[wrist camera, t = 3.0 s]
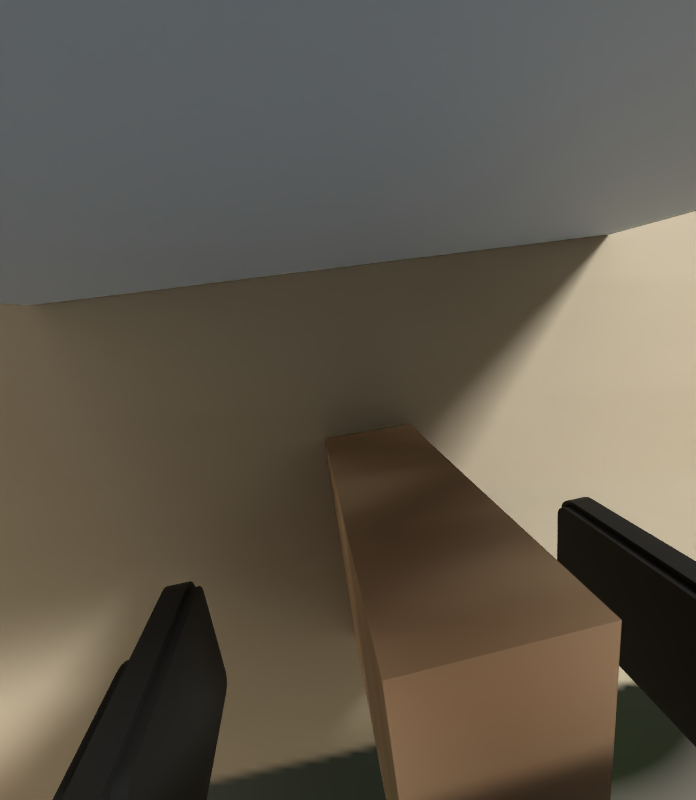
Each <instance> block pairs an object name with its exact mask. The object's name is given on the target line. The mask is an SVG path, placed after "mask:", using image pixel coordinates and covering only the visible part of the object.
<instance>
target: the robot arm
mask: <svg viewBox="0 0 696 800" xmlns="http://www.w3.org/2000/svg"><path fill="white" fill-rule="evenodd" d="M557 561H558V562H559V563H560V564H562V565H563V566H564V567H565V568H566V569H567V570H568V571H569V572H570V573H571V574H572V575H574V576H575V577H576V578H577V579H578V580H579V581H580V582H581V583H582V584H583V585H584V586H585V587H587V588H588V589H589V590H590V591H591V592H592V593H593V594H594V595H595V596H596V597H597V598H598V599H600V600H601V601H602V602H603V603H604V604H605V605H606V606H607V607H608V608H609V609H610V610H611V611H613V612H614V613H615V614H616V615H617V616H618V617H619V618H620V619H621V620H622V625H621V641H620V656H619V666H620V667H621V668H622V669H623V670H624V671H625V672H626V673H627V674H628V675H629V676H630V678H631V679H632V680H633V681H634V682H635V683H636V684H637V685H638V686H639V687H640V688H641V689H642V690H643V691H644V692H645V693H646V694H647V695H648V697H649V698H650V699H651V700H652V701H653V702H654V703H655V704H656V705H657V706H658V707H659V708H660V709H661V710H662V711H663V713H664V714H665V715H666V716H667V717H668V718H669V719H670V720H671V721H672V722H673V723H674V724H675V725H676V726H677V727H678V728H679V729H680V731H681V732H682V733H684V735H685V736H686V737H687V738H688V739H689V740H690V741H691V742H692V743H693V744H694V745H695V746H696V561H694V560H693V559H691V558H689V557H688V556H686V555H684V554H683V553H681V552H679V551H678V550H676V549H674V548H673V547H671V546H669V545H668V544H666V543H664V542H663V541H661V540H659V539H658V538H656V537H654V536H653V535H651V534H649V533H648V532H646V531H644V530H643V529H641V528H639V527H638V526H636V525H634V524H633V523H631V522H629V521H628V520H626V519H624V518H623V517H621V516H619V515H618V514H616V513H614V512H613V511H611V510H609V509H608V508H606V507H604V506H603V505H601V504H599V503H598V502H596V501H594V500H593V499H591V498H588V497H582V498H578V499H573V500H568V501H565V502H564V503H563V504H562V508H560V509H559V511H558V544H557ZM226 688H227V678H226V671H225V668H224V664H223V660H222V657H221V653H220V649H219V646H218V642H217V639H216V635H215V631H214V628H213V624H212V620H211V617H210V613H209V609H208V606H207V602H206V599H205V595H204V591H203V589H202V587H201V586H198V587H195V585H194V583H193V582H191V581H190V582H185V583H181V584H176V585H171V586H167V587H165V588H164V590H163V591H162V593H161V595H160V597H159V600H158V602H157V604H156V606H155V608H154V610H153V612H152V614H151V616H150V618H149V620H148V622H147V624H146V626H145V628H144V630H143V633H142V635H141V637H140V639H139V641H138V643H137V645H136V647H135V649H134V651H133V653H132V655H131V657H130V659H129V660H127V661H126V662H124V663H123V664H122V665H121V667H120V668H119V670H118V671H117V673H116V675H115V677H114V679H113V681H112V683H111V685H110V687H109V689H108V691H107V693H106V695H105V697H104V699H103V701H102V703H101V705H100V707H99V709H98V711H97V713H96V715H95V717H94V719H93V721H92V723H91V725H90V727H89V729H88V731H87V733H86V735H85V737H84V738H83V740H82V742H81V744H80V746H79V748H78V750H77V752H76V754H75V756H74V758H73V760H72V762H71V764H70V766H69V768H68V770H67V772H66V774H65V776H64V778H63V780H62V782H61V784H60V786H59V788H58V790H57V792H56V794H55V796H54V798H53V800H207V794H208V789H209V783H210V778H211V772H212V767H213V761H214V756H215V750H216V745H217V739H218V734H219V728H220V723H221V717H222V712H223V706H224V701H225V696H226Z"/></svg>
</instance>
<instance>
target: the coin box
mask: <svg viewBox="0 0 696 800" xmlns="http://www.w3.org/2000/svg"><path fill="white" fill-rule="evenodd" d="M693 211H696V0H0V304H17V305H38V304H46V303H54V302H63V301H71V300H79V299H87V298H95V297H103V296H111V295H120V294H128V293H136V292H144V291H152V290H160V289H168V288H176V287H185V286H193V285H201V284H209V283H217V282H225V281H233V280H241V279H250V278H258V277H266V276H274V275H282V274H290V273H298V272H307V271H315V270H323V269H331V268H339V267H347V266H355V265H363V264H372V263H380V262H388V261H396V260H404V259H412V258H420V257H429V256H437V255H445V254H453V253H461V252H469V251H477V250H485V249H494V248H502V247H510V246H518V245H526V244H534V243H542V242H550V241H559V240H567V239H575V238H583V237H591V236H599V235H607V234H613V233H616V232H620V231H624V230H627V229H631V228H635V227H638V226H642V225H646V224H649V223H653V222H657V221H660V220H664V219H668V218H671V217H675V216H679V215H682V214H686V213H690V212H693Z"/></svg>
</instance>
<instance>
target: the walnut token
mask: <svg viewBox="0 0 696 800" xmlns="http://www.w3.org/2000/svg"><path fill="white" fill-rule="evenodd" d="M325 446H326V452H327V458H328V465H329V471H330V477H331V484H332V490H333V496H334V503H335V509H336V515H337V522H338V528H339V534H340V541H341V547H342V553H343V560H344V566H345V572H346V579H347V585H348V591H349V598H350V604H351V610H352V617H353V623H354V629H355V636H356V641H357V646H358V652H359V657H360V662H361V668H362V673H363V678H364V684H365V689H366V694H367V700H368V705H369V710H370V716H371V721H372V726H373V731H374V737H375V742H376V747H377V753H378V758H379V763H380V769H381V774H382V779H383V784H384V790H385V795H386V800H610V796H611V781H612V765H613V750H614V734H615V718H616V703H617V687H618V672H619V656H620V641H621V625H622V620H621V619H620V618H619V617H618V616H617V615H616V614H615V613H614V612H613V611H611V610H610V609H609V608H608V607H607V606H606V605H605V604H604V603H603V602H602V601H601V600H600V599H598V598H597V597H596V596H595V595H594V594H593V593H592V592H591V591H590V590H589V589H588V588H587V587H585V586H584V585H583V584H582V583H581V582H580V581H579V580H578V579H577V578H576V577H575V576H574V575H572V574H571V573H570V572H569V571H568V570H567V569H566V568H565V567H564V566H563V565H562V564H560V563H559V562H558V561H557V560H556V559H555V558H554V557H553V556H552V555H551V554H550V553H549V552H547V551H546V550H545V549H544V548H543V547H542V546H541V545H540V544H539V543H538V542H537V541H536V540H534V539H533V538H532V537H531V536H530V535H529V534H528V533H527V532H526V531H525V530H524V529H523V528H521V527H520V526H519V525H518V524H517V523H516V522H515V521H514V520H513V519H512V518H511V517H510V516H508V515H507V514H506V513H505V512H504V511H503V510H502V509H501V508H500V507H499V506H498V505H496V504H495V503H494V502H493V501H492V500H491V499H490V498H489V497H488V496H487V495H486V494H485V493H483V492H482V491H481V490H480V489H479V488H478V487H477V486H476V485H475V484H474V483H473V482H472V481H470V480H469V479H468V478H467V477H466V476H465V475H464V474H463V473H462V472H461V471H460V470H459V469H457V468H456V467H455V466H454V465H453V464H452V463H451V462H450V461H449V460H448V459H447V458H445V457H444V456H443V455H442V454H441V453H440V452H439V451H438V450H437V449H436V448H435V447H434V446H432V445H431V444H430V443H429V442H428V441H427V440H426V439H425V438H424V437H423V436H422V435H421V434H419V433H418V432H417V431H416V430H415V429H414V428H413V427H412V426H411V425H410V424H406V425H400V426H395V427H389V428H383V429H378V430H372V431H366V432H360V433H355V434H349V435H343V436H338V437H332V438H326V439H325Z"/></svg>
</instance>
